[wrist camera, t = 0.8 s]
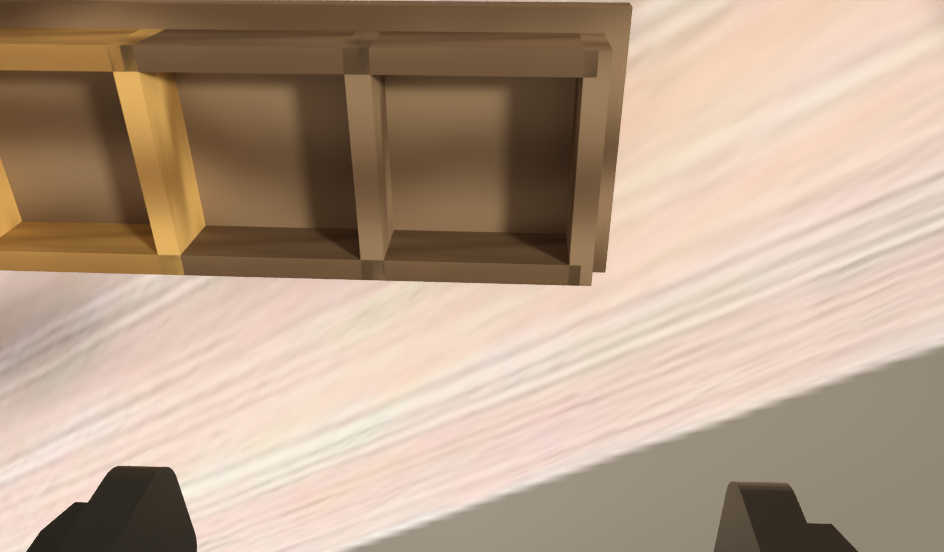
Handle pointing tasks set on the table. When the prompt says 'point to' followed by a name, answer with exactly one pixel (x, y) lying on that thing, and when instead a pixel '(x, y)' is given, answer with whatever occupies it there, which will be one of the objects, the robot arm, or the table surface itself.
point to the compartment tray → (311, 138)
